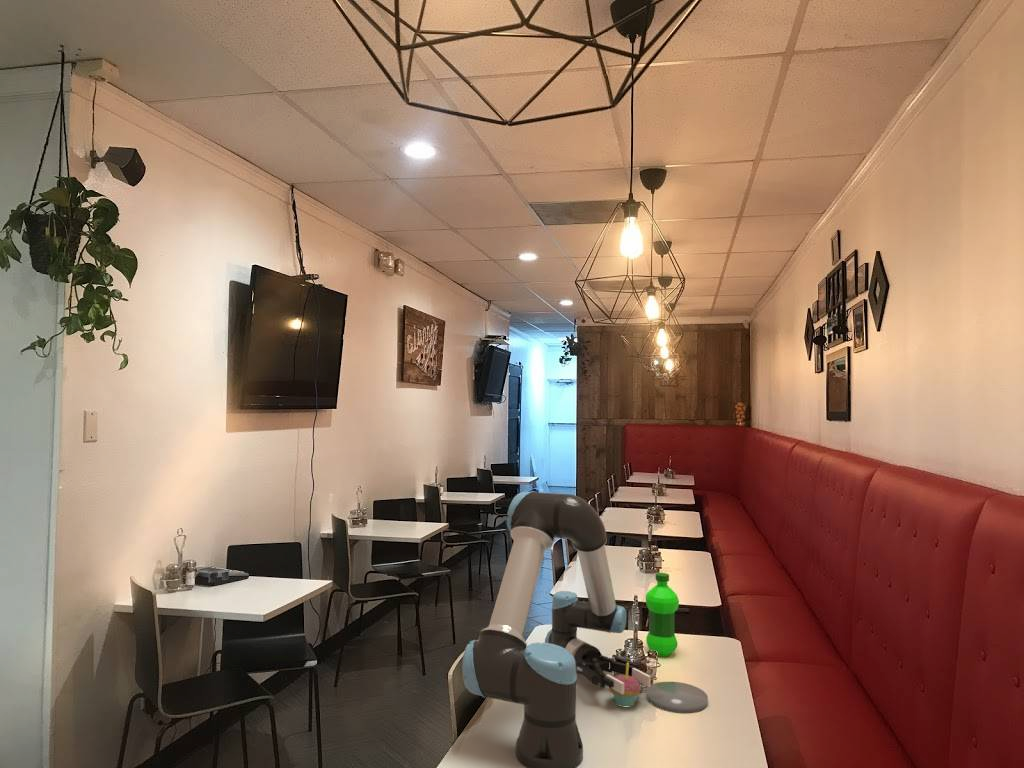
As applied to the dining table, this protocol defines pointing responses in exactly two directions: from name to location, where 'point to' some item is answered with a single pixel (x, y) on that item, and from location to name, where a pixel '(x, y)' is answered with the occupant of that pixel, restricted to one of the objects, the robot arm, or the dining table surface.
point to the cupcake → (626, 689)
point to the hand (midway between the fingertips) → (636, 685)
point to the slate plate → (677, 697)
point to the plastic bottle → (662, 616)
